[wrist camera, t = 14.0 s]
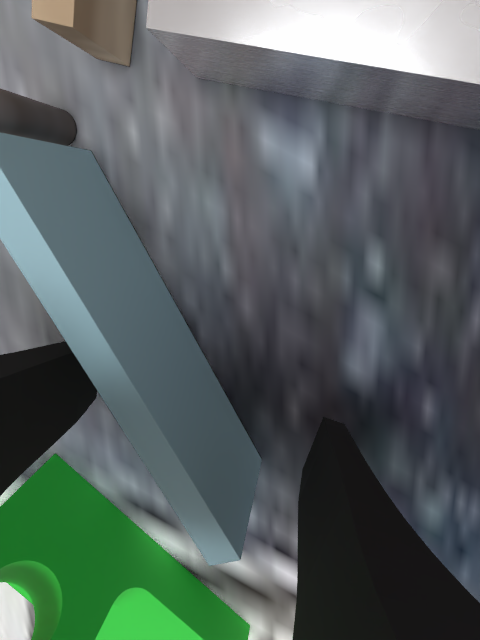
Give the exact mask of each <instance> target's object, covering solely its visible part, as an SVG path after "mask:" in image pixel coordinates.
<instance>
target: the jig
mask: <svg viewBox="0 0 480 640" xmlns="http://www.w3.org/2000/svg"><path fill="white" fill-rule="evenodd" d="M136 2H137V0H32V18H33V19H34V20H36V21H37V22H39V23H41V24H42V25H44V26H45V27H47V28H49V29H50V30H52V31H53V32H55V33H57V34H58V35H60V36H61V37H63V38H65V39H66V40H68V41H69V42H71V43H73V44H74V45H76V46H77V47H79V48H81V49H82V50H84V51H85V52H87V53H89V54H90V55H92V56H93V57H95V58H97V59H100V60H104V61H108V62H113V63H117V64H121V65H125V66H130V57H131V48H132V39H133V30H134V21H135V12H136ZM0 132H1V133H6V134H11V135H16V136H20V137H25V138H30V139H35V140H40V141H45V142H50V143H55V144H60V145H65V146H66V145H69V144H70V143H71V142H72V141H73V140H74V138H75V135H76V125H75V122H74V120H73V118H72V116H71V115H70V114H69V113H68V112H66V111H65V110H62V109H59V108H56V107H53V106H50V105H47V104H44V103H41V102H38V101H35V100H32V99H30V98H27V97H24V96H21V95H18V94H15V93H12V92H9V91H6V90H3V89H0Z"/></svg>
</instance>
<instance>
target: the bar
mask: <svg viewBox="0 0 480 640" xmlns="http://www.w3.org/2000/svg"><path fill="white" fill-rule="evenodd" d="M0 239H1V241H2V242H3V244H4V245H5V247H6V248H7V250H8V251H9V253H10V255H11V256H12V258H13V259H14V261H15V262H16V264H17V266H18V267H19V269H20V270H21V272H22V273H23V275H24V277H25V278H26V280H27V281H28V283H29V284H30V286H31V287H32V289H33V291H34V292H35V294H36V295H37V297H38V298H39V300H40V302H41V303H42V305H43V306H44V308H45V309H46V311H47V313H48V314H49V316H50V317H51V319H52V320H53V322H54V323H55V325H56V327H57V328H58V330H59V331H60V333H61V334H62V336H63V338H64V339H65V341H66V342H67V344H68V345H69V347H70V349H71V350H72V352H73V353H74V355H75V356H76V358H77V359H78V361H79V363H80V364H81V366H82V367H83V369H84V370H85V372H86V374H87V375H88V377H89V378H90V380H91V381H92V383H93V385H94V386H95V388H96V389H97V391H98V392H99V394H100V395H101V397H102V399H103V400H104V402H105V403H106V405H107V406H108V408H109V410H110V411H111V413H112V414H113V416H114V417H115V419H116V421H117V422H118V424H119V425H120V427H121V428H122V430H123V431H124V433H125V435H126V436H127V438H128V439H129V441H130V442H131V444H132V446H133V447H134V449H135V450H136V452H137V453H138V455H139V457H140V458H141V460H142V461H143V463H144V464H145V466H146V467H147V469H148V471H149V472H150V474H151V475H152V477H153V478H154V480H155V482H156V483H157V485H158V486H159V488H160V489H161V491H162V493H163V494H164V496H165V497H166V499H167V500H168V502H169V503H170V505H171V507H172V508H173V510H174V511H175V513H176V514H177V516H178V518H179V519H180V521H181V522H182V524H183V525H184V527H185V529H186V530H187V532H188V533H189V535H190V536H191V538H192V539H193V541H194V543H195V544H196V546H197V547H198V549H199V550H200V552H201V554H202V555H203V557H204V558H205V560H206V561H207V563H208V565H209V566H211V565H216V564H221V563H227V562H232V561H238V560H240V559H241V555H242V550H243V545H244V540H245V536H246V531H247V526H248V522H249V517H250V512H251V508H252V503H253V498H254V494H255V489H256V484H257V480H258V475H259V470H260V466H261V461H262V459H261V457H260V456H259V454H258V452H257V450H256V448H255V447H254V445H253V443H252V441H251V439H250V438H249V436H248V434H247V432H246V430H245V429H244V427H243V425H242V423H241V421H240V419H239V418H238V416H237V414H236V412H235V410H234V409H233V407H232V405H231V403H230V401H229V400H228V398H227V396H226V394H225V392H224V391H223V389H222V387H221V385H220V383H219V382H218V380H217V378H216V376H215V374H214V372H213V371H212V369H211V367H210V365H209V363H208V362H207V360H206V358H205V356H204V354H203V353H202V351H201V349H200V347H199V345H198V344H197V342H196V340H195V338H194V336H193V335H192V333H191V331H190V329H189V327H188V326H187V324H186V322H185V320H184V318H183V316H182V315H181V313H180V311H179V309H178V307H177V306H176V304H175V302H174V300H173V298H172V297H171V295H170V293H169V291H168V289H167V288H166V286H165V284H164V282H163V280H162V279H161V277H160V275H159V273H158V271H157V270H156V268H155V266H154V264H153V262H152V260H151V259H150V257H149V255H148V253H147V251H146V250H145V248H144V246H143V244H142V242H141V241H140V239H139V237H138V235H137V233H136V232H135V230H134V228H133V226H132V224H131V223H130V221H129V219H128V217H127V215H126V213H125V212H124V210H123V208H122V206H121V204H120V203H119V201H118V199H117V197H116V195H115V194H114V192H113V190H112V188H111V186H110V185H109V183H108V181H107V179H106V177H105V176H104V174H103V172H102V170H101V168H100V167H99V165H98V163H97V161H96V159H95V157H94V156H93V154H92V152H91V151H90V150H85V149H80V148H75V147H70V146H65V145H60V144H55V143H50V142H45V141H40V140H35V139H30V138H25V137H20V136H16V135H11V134H6V133H1V132H0Z"/></svg>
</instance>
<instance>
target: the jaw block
mask: <svg viewBox="0 0 480 640" xmlns="http://www.w3.org/2000/svg"><path fill="white" fill-rule="evenodd" d="M146 28H147V29H148V30H149V31H150V32H151V33H152V34H153V35H154V36H155V37H156V38H157V39H158V40H159V41H160V42H161V43H162V44H163V45H164V46H165V47H166V48H167V49H168V50H169V51H170V52H171V53H172V54H173V55H174V56H175V57H176V58H177V59H178V60H179V61H180V62H181V63H182V64H183V65H184V66H185V67H186V68H187V69H188V70H190V71H191V72H192V73H193V74H194V75H195V76H196V77H197V78H199V79H205V80H210V81H216V82H221V83H227V84H232V85H238V86H243V87H249V88H254V89H259V90H265V91H270V92H276V93H281V94H287V95H292V96H298V97H303V98H309V99H314V100H319V101H325V102H330V103H336V104H341V105H347V106H352V107H358V108H363V109H369V110H374V111H379V112H385V113H390V114H396V115H401V116H407V117H412V118H418V119H423V120H429V121H434V122H439V123H445V124H450V125H456V126H461V127H467V128H472V129H478V130H480V0H148V11H147V22H146Z"/></svg>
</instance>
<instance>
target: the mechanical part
mask: <svg viewBox="0 0 480 640" xmlns="http://www.w3.org/2000/svg"><path fill="white" fill-rule="evenodd" d="M0 582H7V583H8V584H9V585H10V586H12V587H13V588H14V589H15V590H16V591H18V592H19V593H20V594H21V595H22V596H24V597H25V598H26V599H27V600H28V601H30V602H31V603H32V604H33V606H34V610H35V627H34V632H33V636H32V639H31V640H248V635H249V629H250V625H249V624H248V623H246V622H245V621H244V620H243V619H242V618H241V617H240V616H238V615H237V614H236V613H235V612H234V611H233V610H232V609H231V608H229V607H228V606H227V605H226V604H225V603H224V602H223V601H222V600H220V599H219V598H218V597H217V596H216V595H215V594H214V593H213V592H211V591H210V590H209V589H208V588H207V587H206V586H205V585H203V584H202V583H201V582H200V581H199V580H198V579H197V578H196V577H194V576H193V575H192V574H191V573H190V572H189V571H188V570H187V569H185V568H184V567H183V566H182V565H181V564H180V563H179V562H178V561H176V560H175V559H174V558H173V557H172V556H171V555H170V554H168V553H167V552H166V551H165V550H164V549H163V548H162V547H161V546H159V545H158V544H157V543H156V542H155V541H154V540H153V539H152V538H150V537H149V536H148V535H147V534H146V533H145V532H144V531H143V530H141V529H140V528H139V527H138V526H137V525H136V524H135V523H133V522H132V521H131V520H130V519H129V518H128V517H127V516H126V515H124V514H123V513H122V512H121V511H120V510H119V509H118V508H117V507H115V506H114V505H113V504H112V503H111V502H110V501H109V500H108V499H106V498H105V497H104V496H103V495H102V494H101V493H100V492H98V491H97V490H96V489H95V488H94V487H93V486H92V485H91V484H89V483H88V482H87V481H86V480H85V479H84V478H83V477H82V476H80V475H79V474H78V473H77V472H76V471H75V470H74V469H73V468H71V467H70V466H69V465H68V464H67V463H66V462H65V461H64V460H62V459H61V458H60V457H59V456H58V455H57V454H56V453H55V454H54V455H53V456H52V457H51V458H50V459H49V460H48V461H47V462H46V463H45V464H44V465H43V466H42V467H41V468H40V469H39V470H38V471H37V472H36V473H35V474H34V475H33V476H31V477H30V478H29V479H28V480H27V481H26V482H25V483H24V484H23V485H22V486H21V487H20V488H19V489H18V490H17V491H16V492H15V493H14V494H13V495H12V496H11V497H10V498H9V499H8V500H7V501H6V502H5V503H4V504H3V505H2V506H1V507H0Z"/></svg>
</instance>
